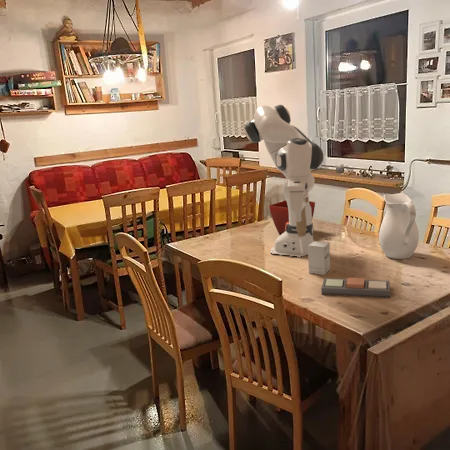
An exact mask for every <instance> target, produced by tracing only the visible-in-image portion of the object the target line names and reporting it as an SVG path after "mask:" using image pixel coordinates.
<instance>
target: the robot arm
mask: <svg viewBox="0 0 450 450" xmlns="http://www.w3.org/2000/svg"><path fill="white" fill-rule="evenodd" d="M291 121H292V120H291V113H290V111H289V110H288V109H287V107H285V106H284V105H283V104H278V105H274V107H271V106H269V105H261V106H259V107H257V109H256V110H255V112H254V114H253V119H251V120H249V121H248V122H247V123H245V125H244V134H245V136H246V138H247V139H248V140H249V141H250V142H251V143H254V144H257V143H260V142H262V141H263V142H264V146H265V148H266V150H267V152H268V154H269V156H270V157H271V160H272V161H273V164H274V165H275V167H276V169H277V170H278V171H280V173H281V174H282V175H284V177H285V178H286V179H285V181H284V182H283V184H282V187H281V191H282V193H283V196H285V200H286V201H287V205H288V211H289V222H287V223H286V226H285V232H284V233H283V234H280V235H279V236H277V238H276V239H275V240H274V241H275V242H274V245H273V246H272V247H271V248H270V252H271V253H272V254H281V255H280V256H282V255H290V256H289V257H292V256H297V257H296V258H302V257H304V256H308V246H309V245H310V244H311V243H312V242H314V241H315V240H314V224H313V218H312V211H311V206H310V204H309V201H310V200H309V201H308V202H307V203H306V202H305V199H306V197H308V198H309V197H310V196H309V192H311V191H312V190H313V188H314V186H315V183H316V181H315V179H316V178H315V177H314V174H312V172H311V170H317V169H319V167H320V166H321V165H322V164H323V161H324V153H323V150H322V148H321V147H320V146H319V145H318V144H317V143H315V142H313V141H312V140H311V139H309V137H307V136H306V135H305V133H304V132H303V131H301V129H299V128H298V127H296V126H294V125H292V124H291ZM304 206H305V213H306V236H304V237H299V236H298V235H297V233H298V232H297V228H296V221H297V222H301V220H302V217H301V211H302V210H303V208H304ZM271 253H270V254H271ZM272 254H271V255H272ZM301 256H302V257H301Z"/></svg>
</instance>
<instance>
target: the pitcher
mask: <svg viewBox="0 0 450 450" xmlns="http://www.w3.org/2000/svg"><path fill="white" fill-rule="evenodd" d="M383 199H384V202H385V204H386V212H385V215H384V216H383V220H382V221H381V225H380V228H379V233H378V234H379V235H378V239H379V246H380V248H381V250H382V252H383V253H384V255H385V256H386V257H387V258H389V259H395V260H405V259H409V258H411V257H412V256H413V255H414V253H415V251H416V249H417V247H418V244H419V236H420V235H419V229H418V226H417V222H416V218H417V217H416V214H417V212H416V211H417V210H416V207H415V205H414V203H413V202H414V201H413V200H412V199H411V198H410V196H408V195H407V194H406V193H404V192H401V193H400V192H399V193H392V194H383Z"/></svg>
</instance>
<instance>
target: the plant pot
mask: <svg viewBox="0 0 450 450" xmlns="http://www.w3.org/2000/svg"><path fill="white" fill-rule="evenodd" d="M309 204H310V206H311V211H312V219H313V217H314V213H315V208H316V202H315V201H312V200H311V201H310V200H309ZM268 208H269V212H270V215H271V219H272V221H273V224H274V226H275V229H276V231H277V232H278V234H280V233H284V232H285V226H286V223H287V222H289V211H288V205H287V201H286V199H285V200H282V201H279V202H275V203H273V204H269V205H268Z"/></svg>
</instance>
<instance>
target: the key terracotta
mask: <svg viewBox="0 0 450 450" xmlns="http://www.w3.org/2000/svg"><path fill="white" fill-rule="evenodd" d="M346 279H347V283H346V288H364V280H365V277H364V278H363V277H362V278H361V277H347V278H346Z"/></svg>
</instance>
